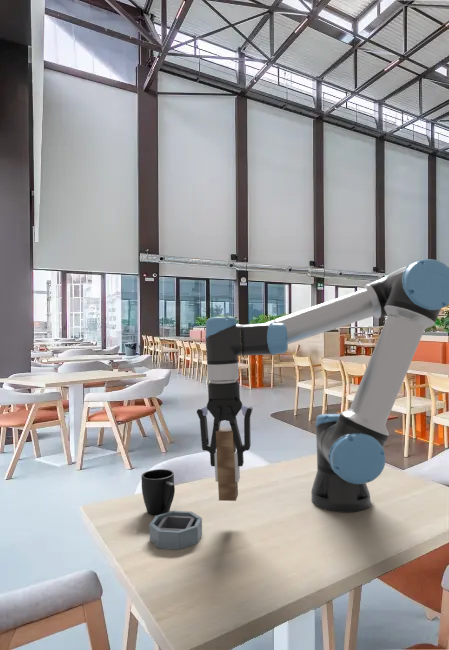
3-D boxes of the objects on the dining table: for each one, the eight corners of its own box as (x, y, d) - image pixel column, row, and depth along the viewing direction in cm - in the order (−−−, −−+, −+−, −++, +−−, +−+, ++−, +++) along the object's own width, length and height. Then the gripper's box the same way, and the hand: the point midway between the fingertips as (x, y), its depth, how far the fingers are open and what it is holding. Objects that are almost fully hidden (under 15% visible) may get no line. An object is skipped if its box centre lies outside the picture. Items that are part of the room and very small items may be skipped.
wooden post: (238, 494, 103) (235, 427, 103) (235, 500, 99) (232, 431, 99) (221, 494, 103) (218, 428, 104) (218, 500, 99) (215, 431, 100)
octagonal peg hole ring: (205, 527, 99) (204, 512, 99) (194, 550, 88) (193, 533, 88) (160, 525, 101) (160, 510, 101) (144, 547, 90) (144, 530, 90)
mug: (156, 526, 100) (155, 486, 100) (137, 510, 110) (136, 473, 110) (187, 517, 104) (186, 478, 105) (165, 502, 114) (165, 467, 115)
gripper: (260, 378, 104) (264, 474, 103) (192, 380, 107) (196, 474, 106) (257, 382, 97) (262, 485, 96) (184, 384, 99) (189, 484, 99)
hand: (227, 479), depth 101 cm, fingers closed on wooden post, 4 cm apart
